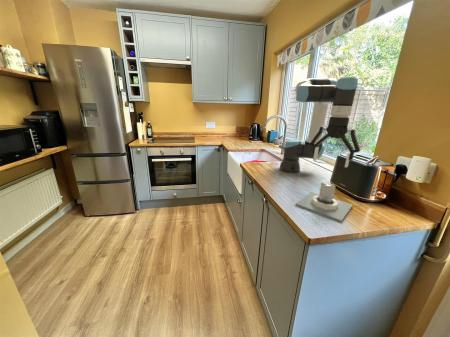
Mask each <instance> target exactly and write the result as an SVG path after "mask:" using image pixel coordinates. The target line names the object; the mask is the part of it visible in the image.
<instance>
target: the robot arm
mask: <svg viewBox="0 0 450 337" xmlns="http://www.w3.org/2000/svg"><path fill="white" fill-rule="evenodd" d="M358 81H359V79H358V77H357V76H342V77H339V78H338V79H336V78H330V77H328V78H326V77H324V78H323V77H321V78H320V77H319V78H313V77H312V78H306V79H303V80H301V81H299V82H298V83H297V84H296V86H295V89H294V90H295V94H296V96H295V101H296V102H297V103H299V102H300V103H314V104H313V108H312V109H313V110H312V114H311V120H310V125H309V131H308V136H307V138H305V140H304V141H303V140H302V139H288V140H286V141H285V142H284V150H283V156H282V161H281V162H280V165H279V170H280V171H282V172H285V173H293V174H294V173H299V172H300V170H301V166H300V159H301V158H302V159H311V160H312V161H314V162H316V161H317V160H319V159H321V157H322V156H323V154H324V150H325V143H324V141H325V140H327V139H328V138H331V139H340V140H341V141H342V142H343V143H344V145H345V147H346V149H348V152H347V154H346V155H347V156H346V159H345V163H344V168H348V167H349V163H350V161H352V160H353V159H354V154H355V153H359V152H361V149H360V145H359V142H358V139H357V136H356V129H355V128H353V129H348V127H349V122H350V116H351V114H352V109H353V104H354V100H355V96H356V91H357V88H358ZM330 103H332V104H331V109H330V114H329V115H330V117H329V119H328V124H327V126H326V127H325V122H326V119H327V118H326V117H327V112H328V109H329V104H330ZM325 131H326V134H325V135H324V136H323V133H324V132H325ZM346 134H349V135H350V138H351V142H352V144H353V146H352V144H351V142H350V141H349V139H348V138H347V136H346Z"/></svg>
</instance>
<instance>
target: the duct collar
mask: <svg viewBox="0 0 450 337" xmlns="http://www.w3.org/2000/svg"><path fill="white" fill-rule="evenodd" d="M335 190H336V185H335V184H333V183H329V182H321V183H320V188H319V193H318V194H319V198H318V201H319V202H321V203H324V204H332V200H333V199H334V194H335Z"/></svg>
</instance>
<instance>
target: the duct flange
mask: <svg viewBox="0 0 450 337" xmlns="http://www.w3.org/2000/svg"><path fill="white" fill-rule="evenodd" d="M318 198H319V193H316V192H312V191H311V192H309V193H308V194H305V196H304V197H302V198H301V199H299V200H298V201H297V202H296V203H295V206H296V207H299V208H301V209H304V210H307V211H309V212H312V213H315V214H318V215H321V216H323V217H325V218H327V219H331V220H333V221H337V222H339V223H342V222H343V221H344V219H345V218H346V217H347V215H348V213H350V211H351V209H352V208H353V207H354V205H353V204H352V203H349V202H345V201H343V200H339V199H335V198H333V200H332V204H324V203H321V202H319V201H318Z"/></svg>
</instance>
